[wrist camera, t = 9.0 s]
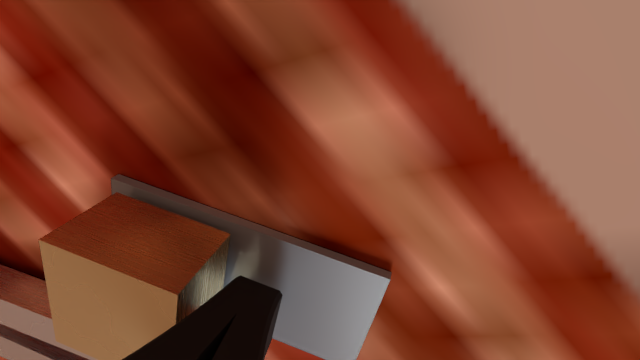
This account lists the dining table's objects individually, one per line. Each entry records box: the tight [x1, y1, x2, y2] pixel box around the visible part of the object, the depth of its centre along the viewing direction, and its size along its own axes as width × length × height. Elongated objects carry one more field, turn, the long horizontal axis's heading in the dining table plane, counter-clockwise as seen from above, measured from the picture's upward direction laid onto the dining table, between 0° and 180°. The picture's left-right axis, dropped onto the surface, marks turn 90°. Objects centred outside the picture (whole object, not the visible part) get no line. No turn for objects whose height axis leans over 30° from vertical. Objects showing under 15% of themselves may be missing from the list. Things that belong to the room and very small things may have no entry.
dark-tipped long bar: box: [0, 324, 89, 360], centre depth 15 cm, size 3×18×2 cm, turn 77°
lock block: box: [39, 192, 230, 360], centre depth 10 cm, size 4×4×2 cm
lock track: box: [111, 174, 391, 360], centre depth 11 cm, size 4×8×1 cm, turn 78°
